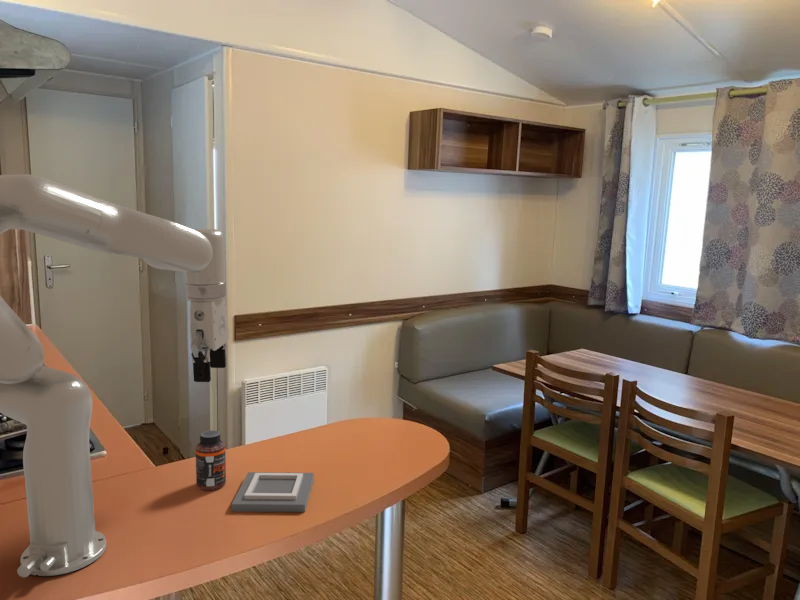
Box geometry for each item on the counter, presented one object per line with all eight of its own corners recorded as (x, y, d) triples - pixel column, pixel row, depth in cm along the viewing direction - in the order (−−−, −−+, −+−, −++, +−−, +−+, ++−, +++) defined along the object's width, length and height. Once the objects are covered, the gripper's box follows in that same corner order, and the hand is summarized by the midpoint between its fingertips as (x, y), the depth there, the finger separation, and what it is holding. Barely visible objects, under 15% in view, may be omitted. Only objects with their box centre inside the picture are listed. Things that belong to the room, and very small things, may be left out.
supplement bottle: (217, 493, 126) (215, 440, 124) (191, 490, 127) (188, 437, 125) (231, 480, 132) (229, 429, 130) (205, 477, 133) (203, 427, 131)
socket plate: (304, 511, 119) (304, 500, 118) (231, 511, 119) (231, 500, 118) (313, 479, 133) (313, 469, 132) (248, 478, 132) (248, 468, 132)
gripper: (211, 299, 115) (215, 387, 117) (237, 285, 132) (240, 362, 135) (171, 298, 115) (176, 387, 118) (202, 284, 132) (206, 362, 135)
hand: (210, 374), depth 126 cm, fingers open, 9 cm apart
